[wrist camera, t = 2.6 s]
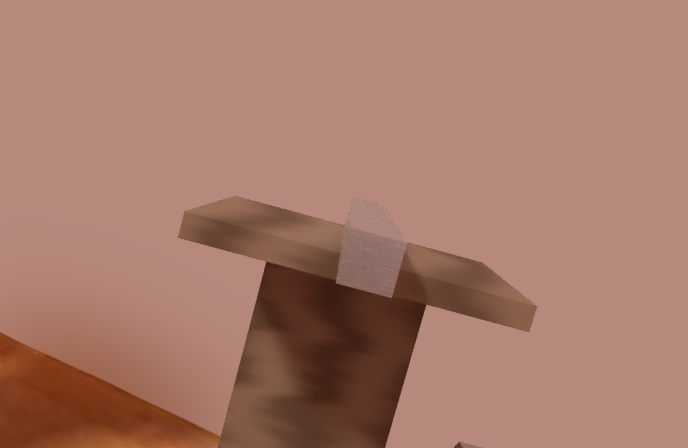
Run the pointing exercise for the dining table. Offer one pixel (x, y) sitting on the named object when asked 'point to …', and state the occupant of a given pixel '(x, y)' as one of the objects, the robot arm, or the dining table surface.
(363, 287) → the bar
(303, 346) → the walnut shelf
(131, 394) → the dining table surface
